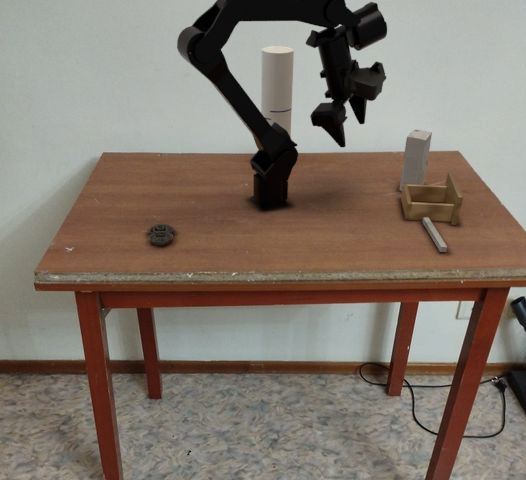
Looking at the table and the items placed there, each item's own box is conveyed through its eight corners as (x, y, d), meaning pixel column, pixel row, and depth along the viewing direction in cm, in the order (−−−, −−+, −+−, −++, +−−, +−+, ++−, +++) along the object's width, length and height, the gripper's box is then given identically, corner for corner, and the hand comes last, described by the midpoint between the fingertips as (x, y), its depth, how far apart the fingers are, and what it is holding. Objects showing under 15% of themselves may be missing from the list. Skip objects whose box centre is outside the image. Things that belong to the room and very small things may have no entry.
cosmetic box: (417, 194, 131) (427, 140, 124) (397, 191, 133) (406, 136, 125) (424, 185, 136) (434, 131, 128) (405, 181, 137) (413, 128, 130)
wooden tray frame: (406, 222, 120) (410, 194, 117) (400, 196, 131) (404, 169, 127) (456, 225, 120) (463, 197, 116) (447, 198, 130) (452, 172, 126)
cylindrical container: (286, 166, 144) (291, 54, 128) (258, 164, 145) (258, 52, 129) (291, 156, 149) (296, 47, 134) (264, 153, 150) (265, 45, 135)
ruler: (446, 251, 111) (447, 247, 110) (440, 252, 111) (441, 247, 110) (427, 221, 120) (428, 217, 120) (422, 221, 120) (423, 217, 120)
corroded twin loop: (147, 247, 111) (147, 242, 110) (148, 228, 117) (147, 223, 116) (174, 246, 111) (174, 241, 111) (174, 227, 118) (173, 222, 117)
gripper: (352, 82, 106) (368, 160, 116) (394, 35, 115) (406, 111, 125) (300, 85, 112) (319, 159, 122) (344, 40, 121) (358, 113, 131)
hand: (352, 135), depth 125 cm, fingers open, 9 cm apart
